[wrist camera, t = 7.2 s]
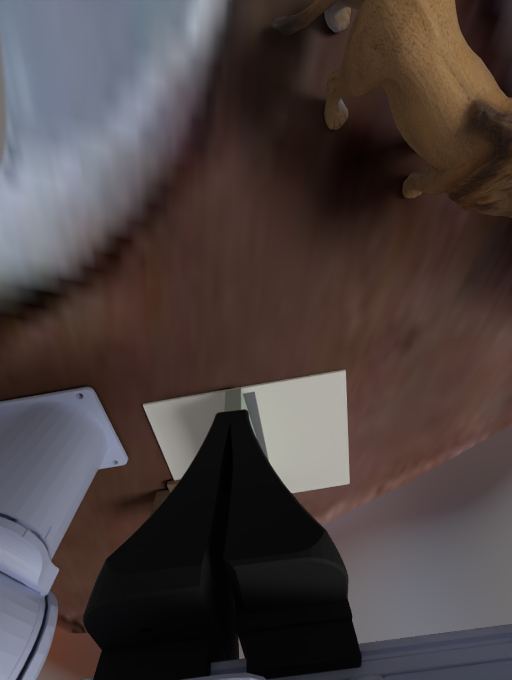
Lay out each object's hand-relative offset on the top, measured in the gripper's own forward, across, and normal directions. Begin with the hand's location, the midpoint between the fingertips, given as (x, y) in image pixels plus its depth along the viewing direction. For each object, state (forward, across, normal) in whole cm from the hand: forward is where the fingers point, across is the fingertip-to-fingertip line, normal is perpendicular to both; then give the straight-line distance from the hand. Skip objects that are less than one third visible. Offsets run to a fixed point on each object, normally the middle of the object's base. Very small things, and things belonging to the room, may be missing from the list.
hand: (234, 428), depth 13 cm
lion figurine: (+9, -11, -12) cm, 19 cm away
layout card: (+9, 0, +11) cm, 14 cm away
